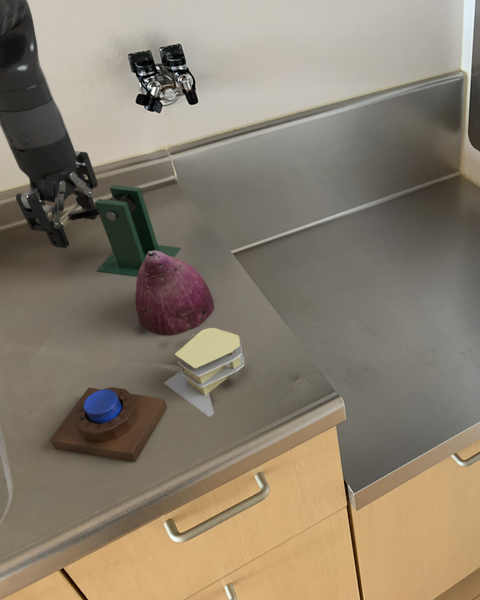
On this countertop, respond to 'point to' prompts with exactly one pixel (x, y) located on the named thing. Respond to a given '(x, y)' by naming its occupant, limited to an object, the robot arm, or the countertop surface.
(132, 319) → the countertop surface
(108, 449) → the switch box
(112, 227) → the switch bracket
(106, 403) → the button
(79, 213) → the lever
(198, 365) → the yellow layered block
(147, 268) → the vegetable
